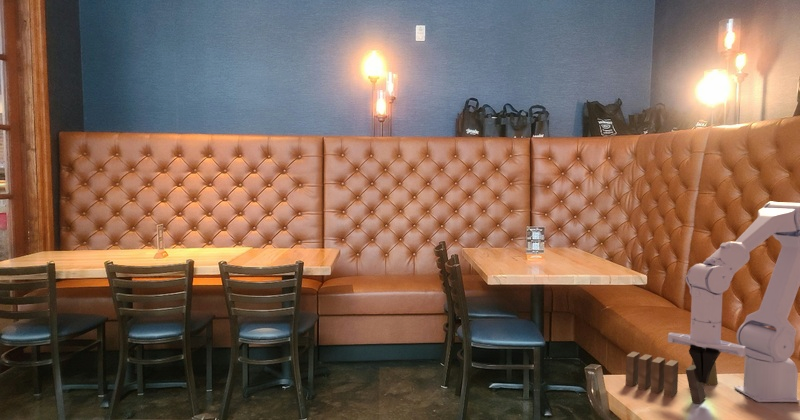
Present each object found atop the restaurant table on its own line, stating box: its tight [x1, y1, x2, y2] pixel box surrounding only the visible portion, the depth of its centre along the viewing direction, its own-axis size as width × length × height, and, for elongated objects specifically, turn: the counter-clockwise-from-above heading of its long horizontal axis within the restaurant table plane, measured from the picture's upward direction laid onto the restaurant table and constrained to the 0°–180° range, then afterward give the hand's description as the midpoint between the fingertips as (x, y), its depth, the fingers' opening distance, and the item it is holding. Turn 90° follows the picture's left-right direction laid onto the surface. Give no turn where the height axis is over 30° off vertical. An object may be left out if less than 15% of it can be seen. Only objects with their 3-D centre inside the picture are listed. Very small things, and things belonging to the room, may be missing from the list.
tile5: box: [625, 351, 641, 387], centre depth 123 cm, size 2×4×7 cm, turn 136°
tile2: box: [663, 359, 679, 398], centre depth 117 cm, size 2×4×7 cm, turn 136°
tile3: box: [650, 356, 666, 394], centre depth 119 cm, size 2×4×7 cm, turn 136°
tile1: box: [685, 364, 707, 404], centre depth 114 cm, size 2×4×7 cm, turn 137°
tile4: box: [637, 353, 653, 391], centre depth 121 cm, size 2×4×7 cm, turn 136°
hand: (703, 381), depth 113 cm, fingers closed
